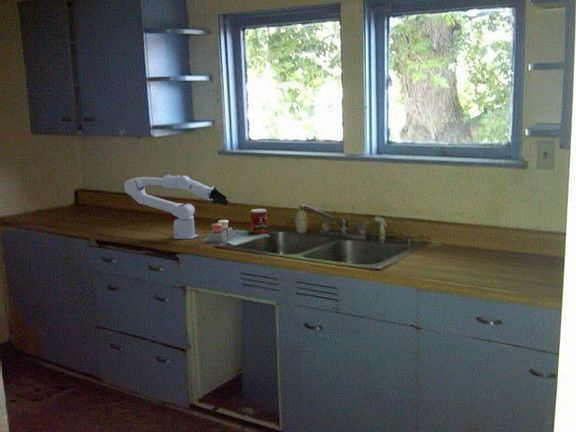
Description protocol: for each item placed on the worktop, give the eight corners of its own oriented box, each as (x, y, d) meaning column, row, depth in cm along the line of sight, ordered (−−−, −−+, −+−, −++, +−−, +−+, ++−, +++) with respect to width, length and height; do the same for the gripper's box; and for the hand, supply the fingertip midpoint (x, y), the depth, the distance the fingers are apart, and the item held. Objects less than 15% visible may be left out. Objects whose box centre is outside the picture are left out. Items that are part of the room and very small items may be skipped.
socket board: (204, 242, 310) (204, 233, 309) (216, 234, 325) (216, 227, 324) (225, 242, 307) (224, 234, 307) (236, 235, 323) (235, 227, 322)
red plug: (210, 234, 310) (209, 225, 309) (214, 232, 315) (213, 223, 314) (220, 234, 309) (220, 225, 308) (224, 232, 314) (223, 223, 313)
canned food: (253, 234, 323) (252, 212, 321) (250, 231, 330) (249, 209, 328) (269, 233, 325) (268, 210, 323) (265, 230, 332) (264, 208, 330)
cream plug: (216, 230, 318) (216, 221, 317) (220, 228, 323) (219, 219, 322) (226, 231, 317) (226, 221, 316) (230, 228, 322) (229, 219, 321)
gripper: (202, 178, 310) (228, 189, 309) (206, 186, 324) (231, 197, 323) (195, 191, 309) (221, 203, 307) (200, 199, 323) (225, 210, 321)
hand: (226, 201), depth 315 cm, fingers open, 7 cm apart
